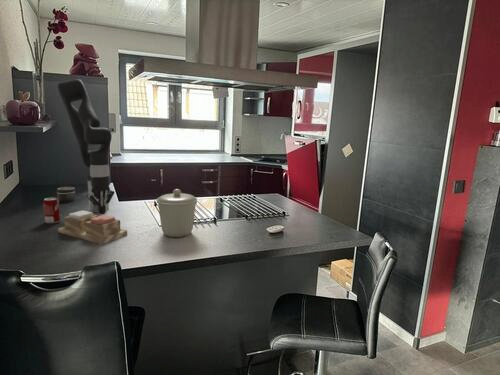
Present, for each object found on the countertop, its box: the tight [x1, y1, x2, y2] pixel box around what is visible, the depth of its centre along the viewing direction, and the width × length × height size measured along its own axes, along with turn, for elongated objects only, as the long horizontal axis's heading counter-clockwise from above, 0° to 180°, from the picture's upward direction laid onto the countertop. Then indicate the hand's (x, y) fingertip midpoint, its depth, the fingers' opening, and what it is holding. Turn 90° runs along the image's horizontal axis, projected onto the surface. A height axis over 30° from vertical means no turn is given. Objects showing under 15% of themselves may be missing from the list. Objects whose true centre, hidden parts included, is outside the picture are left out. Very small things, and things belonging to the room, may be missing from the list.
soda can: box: [42, 197, 61, 225], centre depth 171 cm, size 7×7×12 cm
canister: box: [155, 188, 198, 238], centre depth 160 cm, size 18×18×21 cm
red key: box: [90, 214, 116, 225], centre depth 154 cm, size 7×7×3 cm
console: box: [57, 213, 128, 245], centre depth 158 cm, size 14×28×7 cm, turn 63°
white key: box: [68, 210, 94, 220], centre depth 160 cm, size 7×7×3 cm
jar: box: [56, 186, 76, 203], centre depth 215 cm, size 10×10×8 cm
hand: (102, 213), depth 153 cm, fingers closed
